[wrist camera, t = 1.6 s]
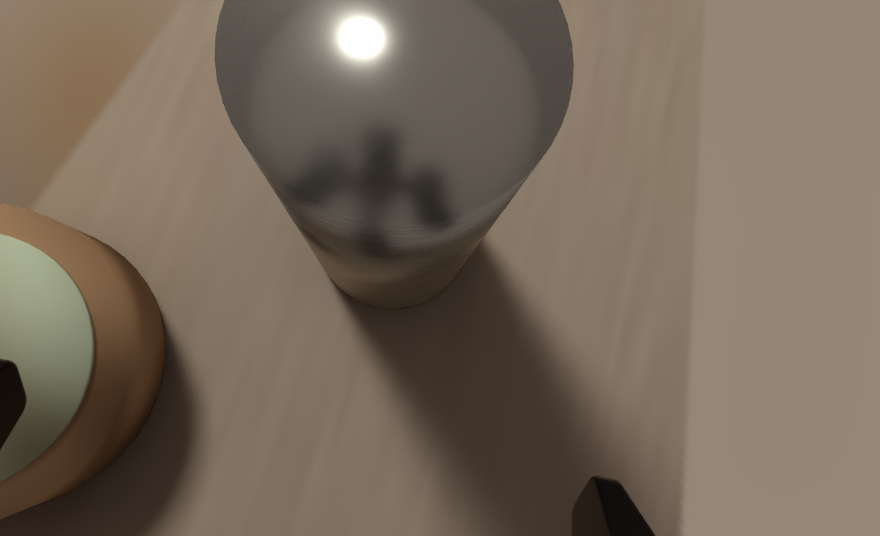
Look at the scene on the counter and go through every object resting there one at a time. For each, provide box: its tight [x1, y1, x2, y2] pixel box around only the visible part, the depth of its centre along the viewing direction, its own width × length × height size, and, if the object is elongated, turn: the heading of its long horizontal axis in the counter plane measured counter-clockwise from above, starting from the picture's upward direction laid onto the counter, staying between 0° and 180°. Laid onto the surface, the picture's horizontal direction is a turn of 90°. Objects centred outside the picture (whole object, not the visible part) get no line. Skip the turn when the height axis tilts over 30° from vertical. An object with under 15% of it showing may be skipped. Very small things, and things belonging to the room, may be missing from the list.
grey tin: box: [215, 0, 574, 309], centre depth 16 cm, size 6×6×13 cm
